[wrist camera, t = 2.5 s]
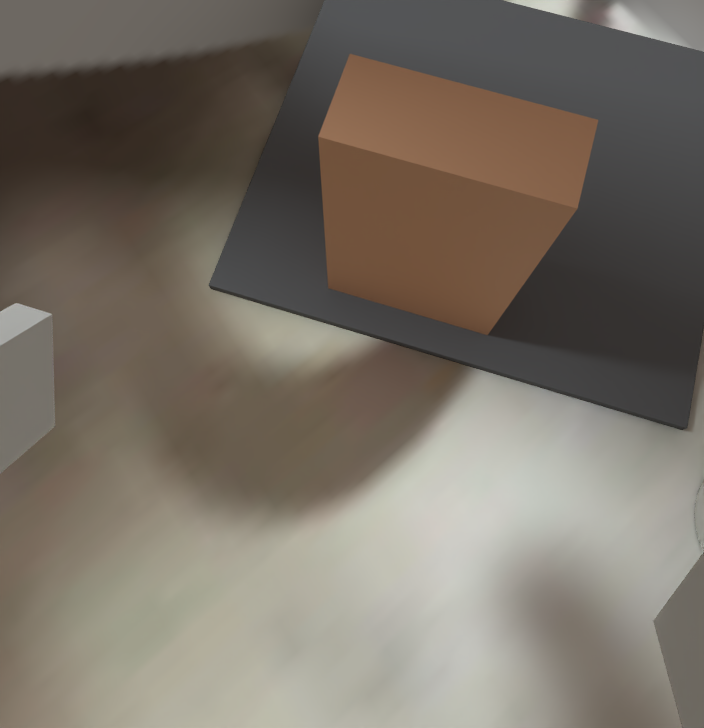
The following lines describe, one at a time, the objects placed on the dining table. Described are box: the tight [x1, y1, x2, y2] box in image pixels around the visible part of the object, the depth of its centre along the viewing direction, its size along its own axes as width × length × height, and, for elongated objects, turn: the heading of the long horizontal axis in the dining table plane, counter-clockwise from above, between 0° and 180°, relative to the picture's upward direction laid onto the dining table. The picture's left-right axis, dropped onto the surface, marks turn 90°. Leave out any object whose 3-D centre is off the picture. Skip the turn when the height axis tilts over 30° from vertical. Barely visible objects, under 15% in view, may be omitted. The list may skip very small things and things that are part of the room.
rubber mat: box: [209, 0, 704, 430], centre depth 30 cm, size 22×20×1 cm
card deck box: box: [318, 54, 598, 335], centre depth 23 cm, size 8×3×11 cm, turn 73°
